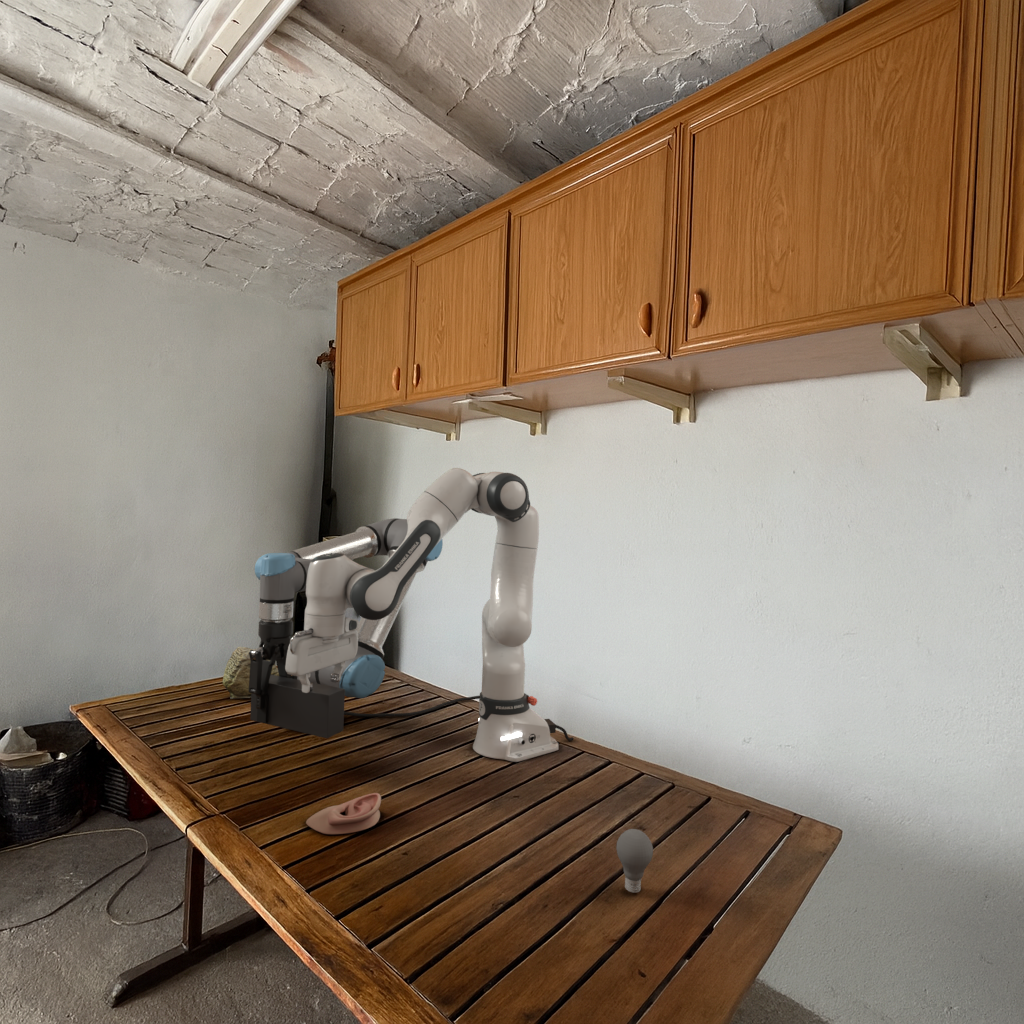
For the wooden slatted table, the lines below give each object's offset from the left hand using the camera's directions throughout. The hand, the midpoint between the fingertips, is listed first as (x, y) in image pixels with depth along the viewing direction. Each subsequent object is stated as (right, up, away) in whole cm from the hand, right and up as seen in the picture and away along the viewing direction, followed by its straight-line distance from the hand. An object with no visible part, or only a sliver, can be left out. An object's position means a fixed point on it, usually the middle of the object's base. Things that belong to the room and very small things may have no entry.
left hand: (272, 717), depth 149 cm
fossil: (-24, -9, +49) cm, 56 cm away
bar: (+7, -1, -3) cm, 7 cm away
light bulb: (+76, -15, -43) cm, 89 cm away
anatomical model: (+23, -12, -24) cm, 36 cm away
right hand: (+13, +9, -6) cm, 17 cm away
